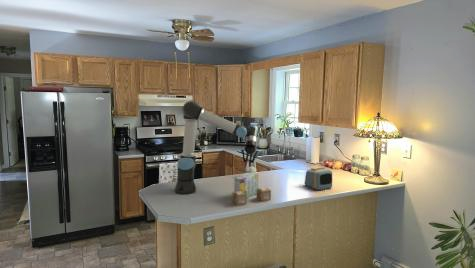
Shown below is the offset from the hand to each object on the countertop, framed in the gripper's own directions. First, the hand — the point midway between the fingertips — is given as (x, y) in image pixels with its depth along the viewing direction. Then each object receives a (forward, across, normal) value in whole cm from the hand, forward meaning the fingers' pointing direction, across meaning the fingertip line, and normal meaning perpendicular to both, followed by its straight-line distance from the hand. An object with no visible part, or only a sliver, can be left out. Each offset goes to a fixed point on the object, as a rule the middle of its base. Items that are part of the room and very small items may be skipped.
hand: (247, 170), depth 214 cm
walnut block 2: (+16, -13, -10) cm, 23 cm away
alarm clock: (-13, -53, -39) cm, 67 cm away
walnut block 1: (+24, +2, -2) cm, 24 cm away
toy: (-19, +4, -45) cm, 49 cm away
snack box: (+13, 0, -13) cm, 19 cm away
